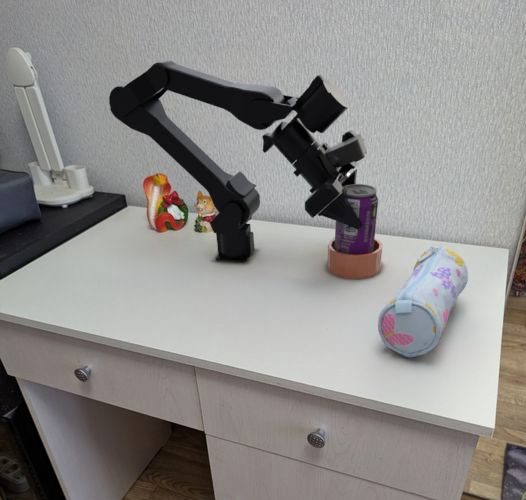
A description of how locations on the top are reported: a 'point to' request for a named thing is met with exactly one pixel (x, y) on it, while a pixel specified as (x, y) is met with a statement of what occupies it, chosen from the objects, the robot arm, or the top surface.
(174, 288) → the top surface
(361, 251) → the beverage can
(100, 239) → the top surface
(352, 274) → the can holder
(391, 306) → the pencil case
